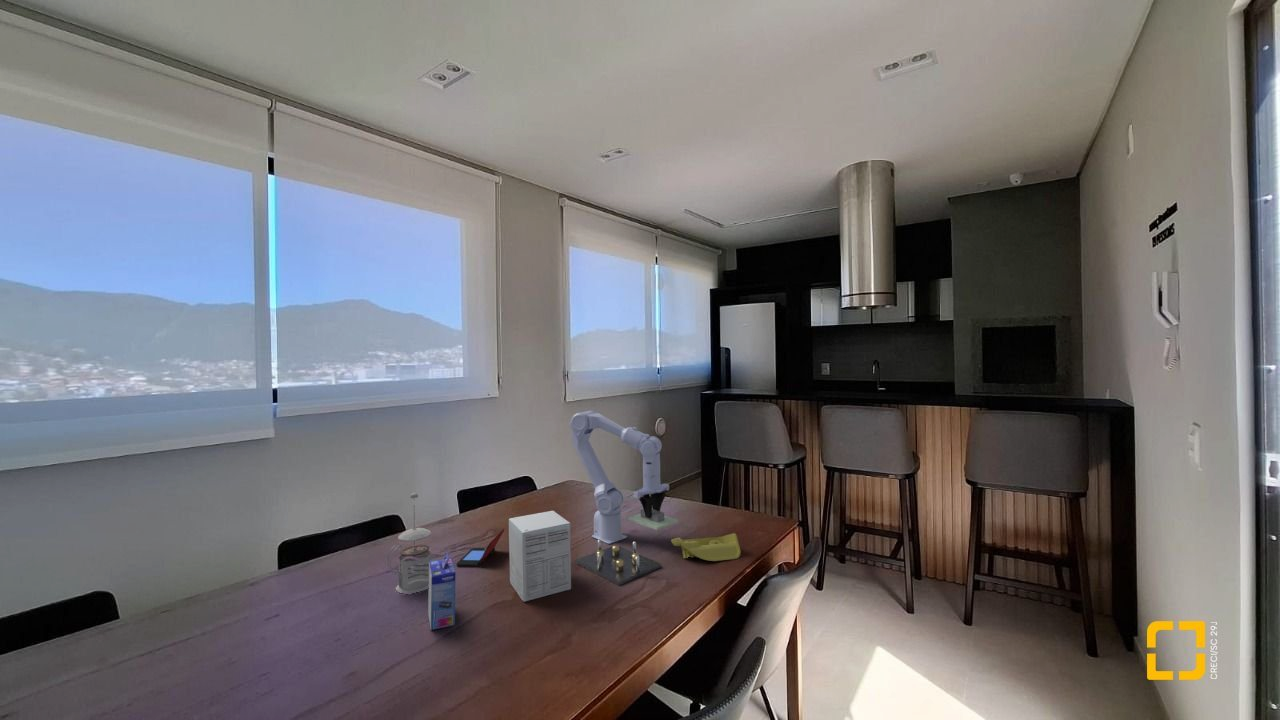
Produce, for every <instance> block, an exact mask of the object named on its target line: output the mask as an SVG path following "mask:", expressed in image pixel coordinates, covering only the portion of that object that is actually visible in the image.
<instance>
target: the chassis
mask: <svg viewBox="0 0 1280 720" xmlns="http://www.w3.org/2000/svg"><path fill="white" fill-rule="evenodd" d="M576 563H577V564H576ZM575 564H576V565H578V564H579V565H578V566H580V565H581V566H580V567H582V568H584V567H585V568H584V569H586V570H587V571H590V572H591V573H594V574H596V575H597V574H598V576H599V575H600V576H599V577H601V576H602V577H601V578H603V577H604V580H605V579H606V580H607V581H609V582H611V583H613V584H615V585H617V586H621V585H624V584H627V583H628V582H631V581H633V580H635V579H637V578H639V577H640V578H641V577H642V576H644V575H647V574H649V573H651V572H654V571H656V570H658V569H660V568H662V563H660V562H658V561H656V560H654V559H651V558H648V557H646V556H644V555H641V554H639V553H637V541H635V540H634V541H632V551H631V550H629V549H628V548H624V547H622V546H620V545H619V544H613V545H612V546H611V547H608V548H605V549H602V541H601V540H598V539H597V551H596V552H593V553H591V554H588V555H585V556H583V557H580V558H577V559H575Z"/></svg>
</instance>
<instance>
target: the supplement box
mask: <svg viewBox="0 0 1280 720" xmlns="http://www.w3.org/2000/svg"><path fill="white" fill-rule="evenodd" d="M508 544H509V583H510V584H511V586H512V588H513V589H514V591H515V592H516V593H517V596H519V597H520V599H521V600H522V601H523V602H524V603H525V602H529V601H532V600H536V599H539V598H542V597H546V596H549V595H555V594H557V593H562V592H564V591H565V592H567V591H569V590H571V589H572V571H571V570H572V568H571V567H572V562H571V561H572V560H571V554H572V553H571V522H570V521H568V520H566V519H565V518H564V517H563V516H561V515H560V514H559V513H557V512H556V511H554V510H550V511H549V510H548V511H543V512H538V513H533V514H527V515H521V516H515V517H511V518H509V519H508Z"/></svg>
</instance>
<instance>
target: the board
mask: <svg viewBox="0 0 1280 720" xmlns="http://www.w3.org/2000/svg"><path fill="white" fill-rule="evenodd" d="M626 521H630V522H632V523H634V524H638V525H641V526H644V527H646V528H650V529H652V530H656V531H658V530H661V529H663V528H667V527H670V526H673V525H675V524H679V519H676V518H674V517H669V516H666V515H665V512H664V511H661V510H660V511H657V510H654V509H653V508H652V516H651V518H647V517H646V516H645V512H644V509H643V508H641V509H640V513H637V514H634V515H630V516H627V517H626Z"/></svg>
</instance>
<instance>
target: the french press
mask: <svg viewBox="0 0 1280 720" xmlns="http://www.w3.org/2000/svg"><path fill="white" fill-rule="evenodd" d="M409 497H410V499H417V498H418V497H419V495H418V493H417V492H413V493H411V494H410V495H409ZM415 507H416V506H413V527H412V528H410V529H407V530H405V531H403V532H402V533H401V534H399V535H398V536H397V539H398V540H399V541H400V542H404V543H405V542H407V543H408V542H413V545H409V546H408V547H404V548H402V545H401V544H399V543H396V544H395V545H393V546H392V547H391V548H390V549H389V551H388V554H387V556H386V563H387V567H388V568H389V569H390V570H391V571H392V572H394V573H395V574H398V578H397V579H398V585H397V586H396V587H395V589H396V590H397V591H398V592H400V593H415V592H419V591H423V590H425V589H427V588H429V562H430V561H431V551H430V550H429V549H430V546H429V545H426V544H416V541H421V540H423V539H427V538H428V537H430V535H431V533H432V532H431V531H430V530H429V529H428V528H423V527H416V522H415V519H416V518H415V515H416V514H415V513H416V512H415ZM395 546H397V547H395ZM397 549H398V550H399V551H400V552H399V554H400V556H398V570H396V569H394V568H393V567H392V564H391V562H392V561H391V559H392V557H393V554H394V552H395V551H396V550H397ZM391 551H392V552H391ZM390 553H391V554H390ZM389 556H390V557H389ZM406 557H413V558H406ZM414 558H418V559H414ZM419 558H420V559H419ZM403 559H404V560H403ZM427 590H428V589H427ZM425 591H426V590H425ZM423 592H424V591H423ZM419 593H420V592H419ZM415 594H416V593H415Z"/></svg>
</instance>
